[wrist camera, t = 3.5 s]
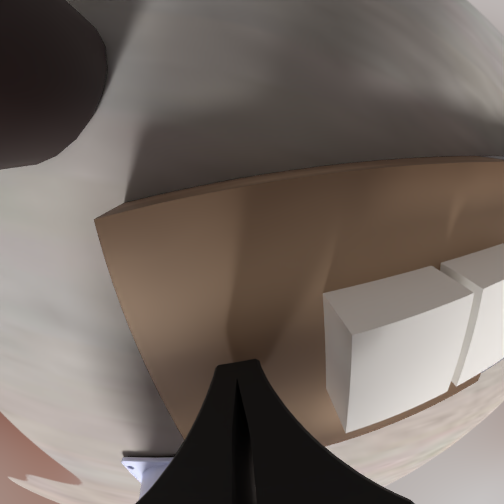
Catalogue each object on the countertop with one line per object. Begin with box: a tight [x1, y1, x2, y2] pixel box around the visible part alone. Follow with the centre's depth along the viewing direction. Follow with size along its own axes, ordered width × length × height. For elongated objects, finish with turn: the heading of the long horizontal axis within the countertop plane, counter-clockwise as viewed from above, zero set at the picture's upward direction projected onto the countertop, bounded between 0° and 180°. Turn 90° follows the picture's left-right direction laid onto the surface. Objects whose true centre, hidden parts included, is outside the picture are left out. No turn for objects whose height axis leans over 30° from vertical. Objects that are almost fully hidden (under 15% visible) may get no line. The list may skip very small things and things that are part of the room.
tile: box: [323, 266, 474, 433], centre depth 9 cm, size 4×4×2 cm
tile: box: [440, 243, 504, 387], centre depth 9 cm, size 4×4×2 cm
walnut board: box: [94, 156, 504, 447], centre depth 12 cm, size 13×17×3 cm
